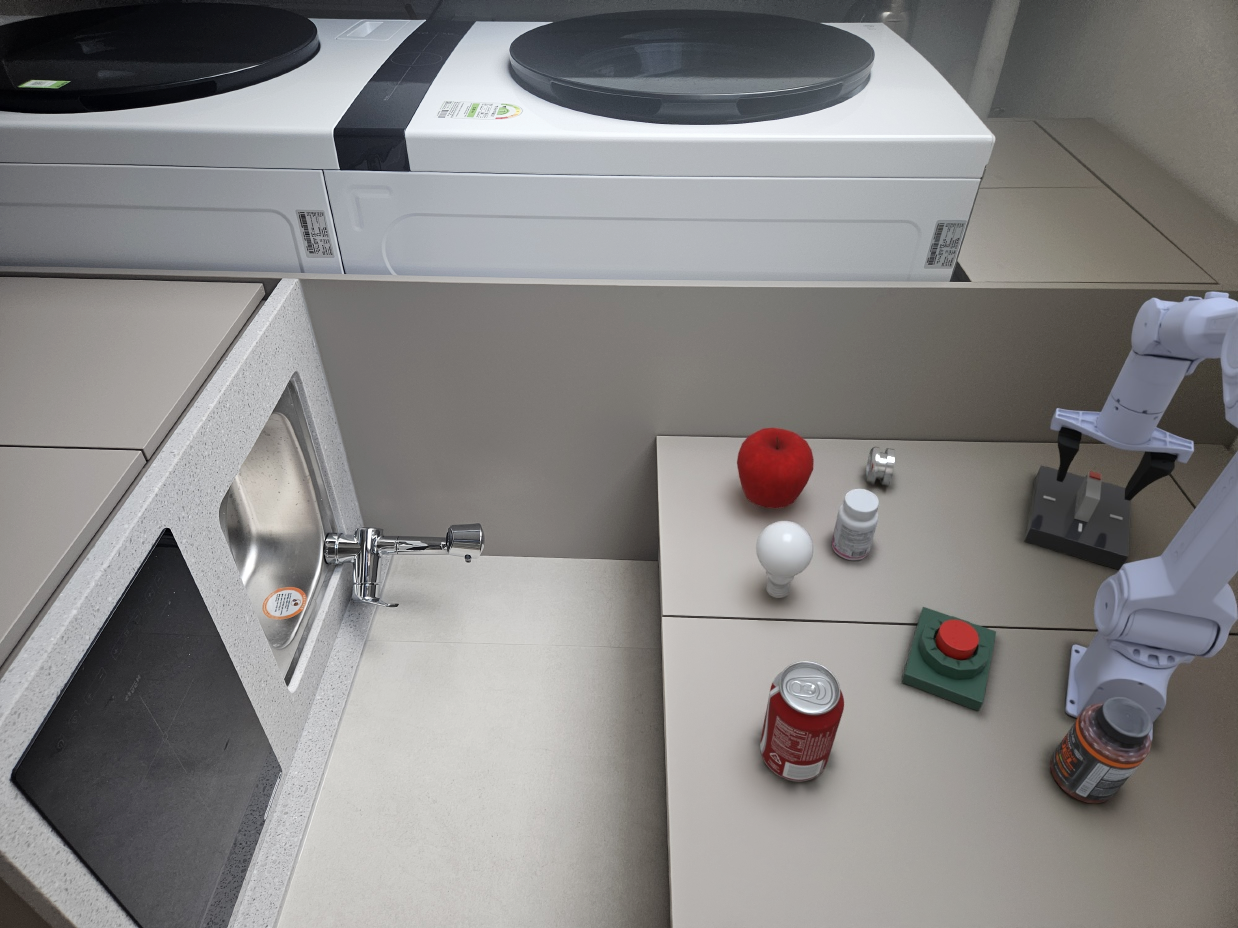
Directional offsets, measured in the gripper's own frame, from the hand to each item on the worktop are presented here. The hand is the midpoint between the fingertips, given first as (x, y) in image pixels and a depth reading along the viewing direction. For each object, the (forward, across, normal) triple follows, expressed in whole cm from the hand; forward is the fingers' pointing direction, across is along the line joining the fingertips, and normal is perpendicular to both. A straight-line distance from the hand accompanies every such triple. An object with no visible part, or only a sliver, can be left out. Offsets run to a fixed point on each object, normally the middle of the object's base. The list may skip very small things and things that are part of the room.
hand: (1093, 485), depth 100 cm
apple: (+7, +37, +13) cm, 40 cm away
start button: (+3, +11, +29) cm, 31 cm away
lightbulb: (+6, +31, +28) cm, 42 cm away
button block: (+6, +11, +29) cm, 32 cm away
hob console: (+6, 0, 0) cm, 6 cm away
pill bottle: (+6, +25, +17) cm, 31 cm away
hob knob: (+4, 0, 0) cm, 4 cm away
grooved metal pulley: (+7, +25, +3) cm, 26 cm away
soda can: (+6, +23, +47) cm, 53 cm away
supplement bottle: (+6, -3, +37) cm, 38 cm away
